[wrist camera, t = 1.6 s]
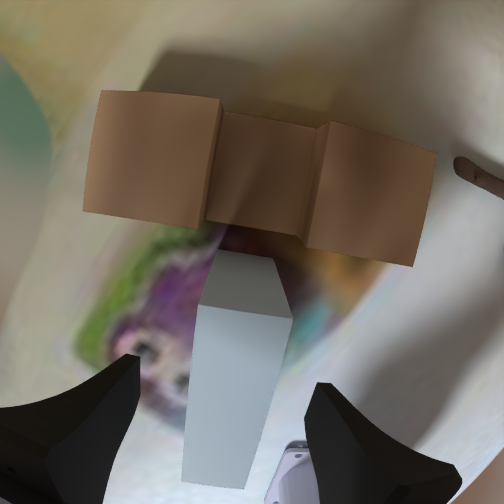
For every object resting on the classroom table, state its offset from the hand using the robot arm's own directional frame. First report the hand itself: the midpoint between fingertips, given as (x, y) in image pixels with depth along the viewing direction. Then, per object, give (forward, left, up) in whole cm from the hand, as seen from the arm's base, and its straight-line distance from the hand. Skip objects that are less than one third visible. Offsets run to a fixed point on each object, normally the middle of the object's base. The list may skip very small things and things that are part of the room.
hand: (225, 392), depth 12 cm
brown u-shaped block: (0, -8, -5) cm, 10 cm away
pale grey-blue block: (0, 0, -5) cm, 5 cm away
